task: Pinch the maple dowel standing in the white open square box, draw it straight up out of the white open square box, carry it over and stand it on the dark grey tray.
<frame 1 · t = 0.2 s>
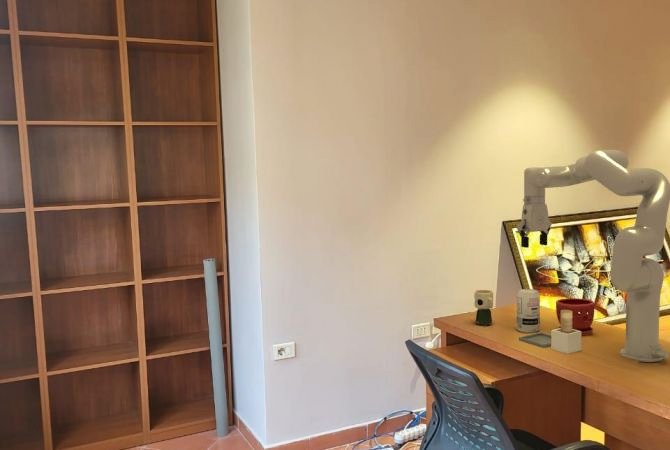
hand: (534, 246, 237), 31 cm above the table, tool pointing down, fingers open, 9 cm apart
character mug: (483, 324, 245), on the table
white open square box: (566, 351, 209), on the table
dowel: (566, 349, 209), point 1 cm above the table, touching white open square box
tray: (542, 342, 219), on the table
plant pot: (574, 333, 230), on the table
supplement can: (528, 331, 235), on the table
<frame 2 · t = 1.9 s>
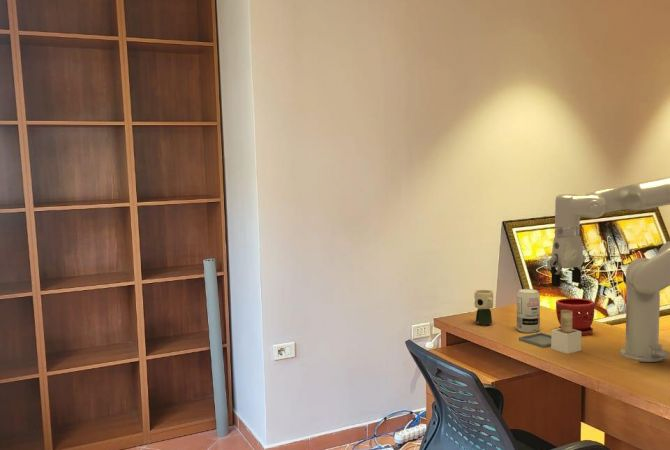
hand: (566, 284, 207), 23 cm above the table, tool pointing down, fingers open, 9 cm apart
nothing on the table moved.
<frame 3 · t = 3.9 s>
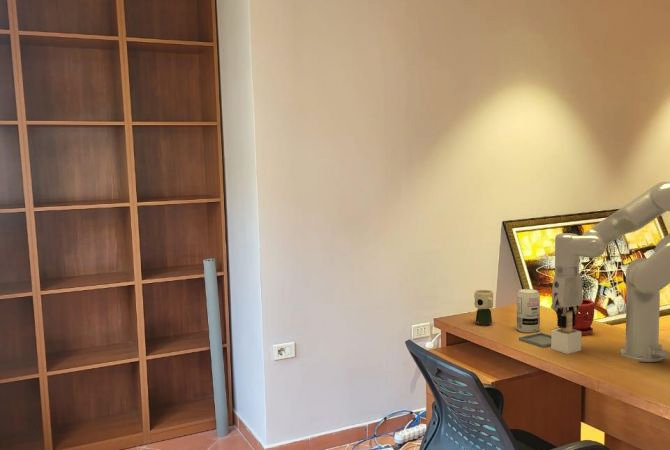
hand: (566, 325, 208), 9 cm above the table, tool pointing down, fingers closed on dowel, 3 cm apart
dowel: (566, 349, 209), point 1 cm above the table, touching white open square box, gripper
everything else where it was.
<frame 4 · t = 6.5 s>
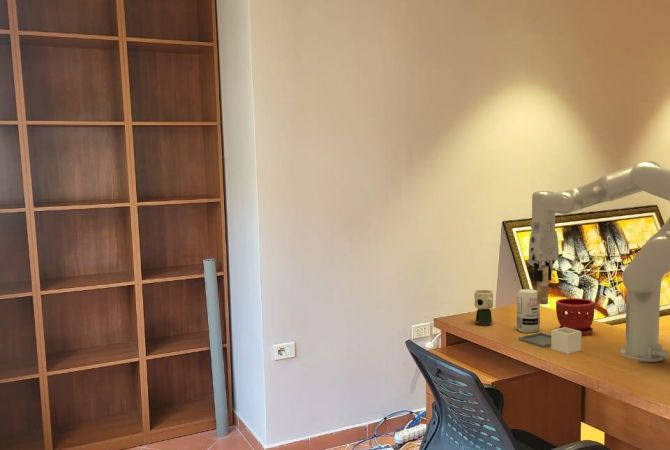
hand: (542, 279, 216), 22 cm above the table, tool pointing down, fingers closed on dowel, 3 cm apart
dowel: (542, 303, 217), point 14 cm above the table, touching gripper
everything else where it was.
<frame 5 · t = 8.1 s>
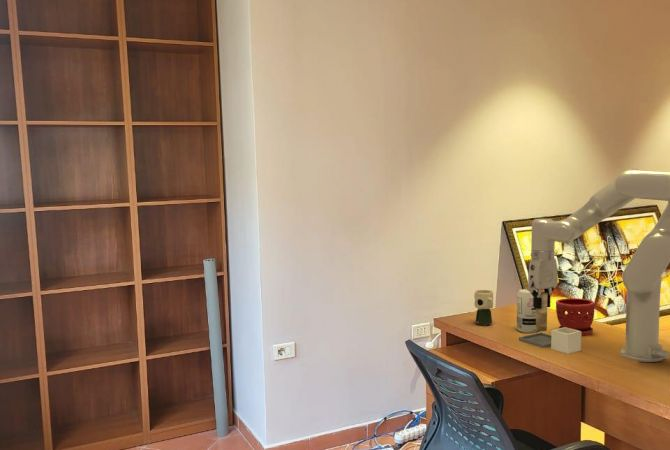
hand: (541, 306, 218), 13 cm above the table, tool pointing down, fingers closed on dowel, 3 cm apart
dowel: (541, 329, 219), point 5 cm above the table, touching gripper
everything else where it was.
when the fingers open (10 cm above the table, at t = 9.5 s): dowel stays where it is, resting on tray.
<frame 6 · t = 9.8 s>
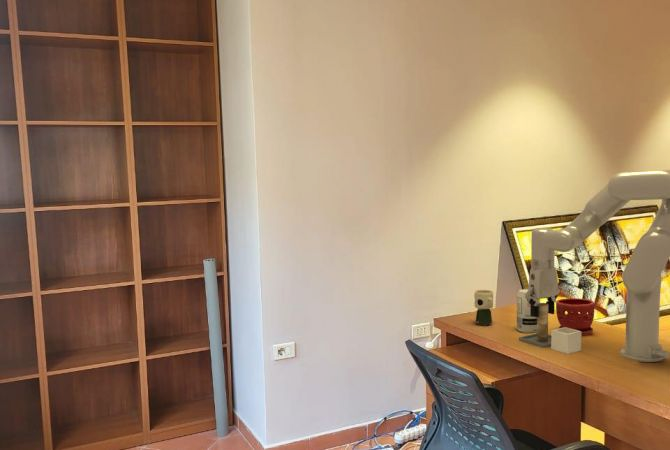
hand: (542, 314, 218), 10 cm above the table, tool pointing down, fingers open, 7 cm apart
dowel: (542, 340, 219), point 1 cm above the table, touching tray
everything else where it was.
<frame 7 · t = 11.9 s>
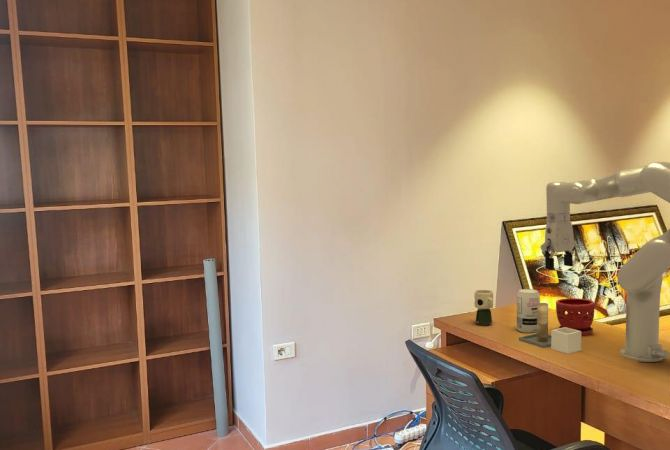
hand: (559, 267, 217), 26 cm above the table, tool pointing down, fingers open, 9 cm apart
nothing on the table moved.
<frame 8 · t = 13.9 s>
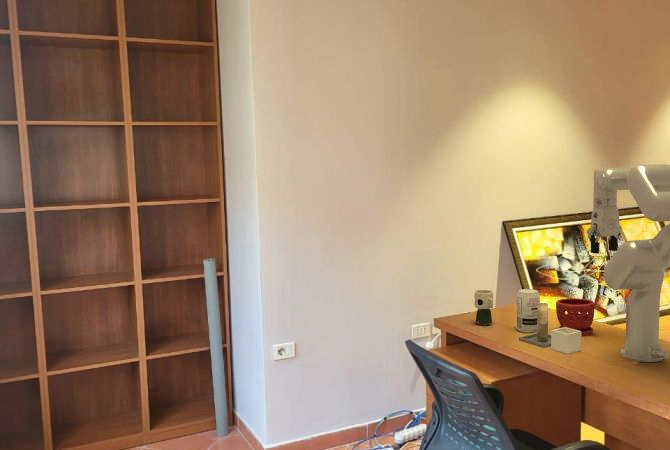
hand: (604, 251, 222), 30 cm above the table, tool pointing down, fingers open, 9 cm apart
nothing on the table moved.
at the end: dowel inside the target area on the tray (0.0 cm from its centre), point 0.8 cm above the tray's base; dowel tilted 0°; the gripper is holding nothing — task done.
